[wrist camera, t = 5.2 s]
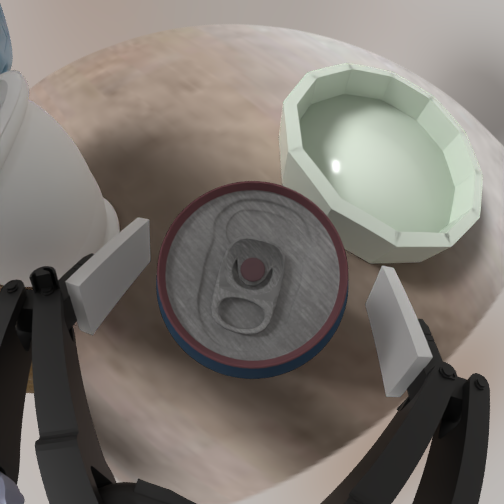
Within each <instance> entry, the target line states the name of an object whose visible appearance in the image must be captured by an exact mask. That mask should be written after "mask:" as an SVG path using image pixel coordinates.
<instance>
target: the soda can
mask: <svg viewBox="0 0 504 504" xmlns="http://www.w3.org/2000/svg"><path fill="white" fill-rule="evenodd" d="M156 290H157V299H158V304H159V308H160V312H161V315H162V317H163V320H164V322H165V324H166V327H167V328H168V330H169V332H170V334H171V335H172V337H173V338H174V339H175V341H176V342H177V343H178V345H179V346H180V347H181V348H182V349H183V350H184V351H185V352H186V353H187V354H188V355H189V356H190V357H192V358H193V359H194V360H196V361H197V362H199V363H200V364H202V365H203V366H205V367H207V368H209V369H211V370H213V371H216V372H218V373H221V374H224V375H227V376H232V377H237V378H245V379H260V378H268V377H273V376H277V375H281V374H284V373H287V372H289V371H292V370H294V369H296V368H298V367H300V366H301V365H303V364H305V363H306V362H308V361H309V360H311V359H312V358H313V357H314V356H316V355H317V354H318V353H319V352H320V351H321V350H322V349H323V348H324V347H325V345H326V344H327V343H328V342H329V340H330V339H331V338H332V336H333V335H334V333H335V332H336V330H337V328H338V326H339V324H340V322H341V319H342V317H343V314H344V311H345V307H346V303H347V297H348V263H347V257H346V253H345V249H344V246H343V243H342V241H341V238H340V236H339V234H338V232H337V230H336V228H335V227H334V225H333V223H332V222H331V221H330V219H329V218H328V217H327V216H326V214H325V213H324V212H323V211H322V210H321V209H320V208H319V207H318V206H317V205H316V204H314V203H313V202H312V201H311V200H309V199H308V198H306V197H305V196H303V195H302V194H300V193H298V192H296V191H294V190H292V189H290V188H287V187H284V186H281V185H278V184H274V183H269V182H260V181H245V182H237V183H232V184H227V185H224V186H221V187H218V188H216V189H213V190H211V191H209V192H207V193H205V194H203V195H202V196H200V197H199V198H197V199H196V200H194V201H193V202H192V203H190V204H189V205H188V206H187V207H186V208H185V209H184V210H183V211H182V212H181V213H180V214H179V215H178V216H177V217H176V219H175V220H174V221H173V223H172V224H171V226H170V228H169V230H168V231H167V233H166V236H165V238H164V240H163V243H162V246H161V249H160V253H159V258H158V265H157V279H156Z"/></svg>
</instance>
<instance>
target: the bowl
mask: <svg viewBox="0 0 504 504" xmlns="http://www.w3.org/2000/svg"><path fill="white" fill-rule="evenodd" d="M279 148H280V162H281V177H282V185H283V186H284V187H287V188H290V189H292V190H294V191H296V192H298V193H300V194H302V195H303V196H305V197H306V198H308V199H309V200H311V201H312V202H313V203H314V204H316V205H317V206H318V207H319V208H320V209H321V210H322V211H323V212H324V213H325V214H326V216H327V217H328V218H329V219H330V221H331V222H332V223H333V225H334V227H335V228H336V230H337V232H338V234H339V236H340V238H341V241H342V243H343V246H344V249H346V250H347V251H349V252H351V253H353V254H354V255H356V256H358V257H360V258H361V259H363V260H365V261H367V262H368V263H370V264H376V263H414V262H422V261H424V260H426V259H428V258H430V257H432V256H434V255H436V254H438V253H440V252H442V251H444V250H446V249H448V248H450V247H452V246H453V245H454V244H455V243H456V242H457V241H458V240H459V239H460V238H461V237H462V236H463V235H464V234H465V233H466V232H467V231H468V230H469V228H470V227H471V226H472V225H473V224H474V223H475V222H476V221H477V220H478V219H479V218H480V211H481V200H482V184H483V174H482V172H481V169H480V166H479V163H478V161H477V158H476V156H475V153H474V151H473V148H472V146H471V143H470V141H469V139H468V137H467V134H466V132H465V131H464V130H463V128H462V127H461V126H460V125H459V124H458V123H457V121H456V120H455V119H454V118H453V117H452V116H451V114H450V113H449V112H448V111H447V110H446V109H445V108H444V107H443V106H442V105H441V103H440V102H439V101H438V100H437V99H436V98H435V97H434V96H433V95H431V94H430V93H428V92H426V91H425V90H423V89H421V88H420V87H418V86H417V85H415V84H413V83H411V82H410V81H408V80H406V79H404V78H403V77H401V76H399V75H397V74H395V73H393V72H391V71H387V70H383V69H378V68H373V67H369V66H363V65H358V64H352V63H343V64H339V65H334V66H330V67H326V68H322V69H318V70H314V71H310V72H307V73H306V75H305V76H304V77H303V78H302V79H301V81H300V82H299V83H298V84H297V85H296V87H295V88H294V89H293V90H292V92H291V93H290V94H289V95H288V97H287V98H286V99H285V100H284V102H283V108H282V116H281V123H280V131H279Z"/></svg>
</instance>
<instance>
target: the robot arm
mask: <svg viewBox="0 0 504 504" xmlns="http://www.w3.org/2000/svg"><path fill="white" fill-rule="evenodd" d="M11 66H12V46H11V40H10V36H9V31H8V27H7V24H6V20H5V16H4V14H3V10H2V7H1V5H0V74H2V73H5V72H7V71H10V69H11ZM150 261H151V257H150V225H149V219H145V218H139V217H138V218H136V219H135V220H134V221H133V222H131V223H130V224H129V225H128V226H127V227H125V228H124V229H123V230H122V231H121V232H119V233H118V234H117V235H116V236H115V237H114V238H112V239H111V240H110V241H109V242H108V243H107V244H105V245H104V246H103V247H102V248H101V249H100V250H99V251H98V252H96V253H95V254H93V253H91V254H89V255H87V256H85V257H83V258H82V259H81V260H79V261H78V262H77V264H75V265H74V266H73V267H72V269H70V270H68V271H67V272H66V273H65V274H64V275H63V276H62V277H61V278H60V279H59V280H58V278H57V274H56V270H55V269H54V268H53V267H50V266H43V267H40V268H37V269H36V270H34V271H33V272H32V273H31V274H30V277H29V278H30V281H31V284H32V287H33V290H28V289H25V286H24V283H23V282H22V281H21V280H17V279H16V280H11V281H9V282H8V283H6V284H5V285H4V286H3V288H2V289H1V291H0V504H24V497H23V495H22V494H21V493H20V491H19V489H18V486H17V481H18V474H19V463H20V442H21V428H22V418H23V409H24V402H25V395H26V389H27V383H28V378H29V373H30V368H31V363H32V371H33V387H34V398H35V407H36V415H37V421H38V428H39V435H40V438H39V440H37V441H36V442H35V450H36V455H37V461H38V465H39V469H40V473H41V477H42V481H43V484H44V488H45V491H46V494H47V497H48V500H49V504H196V503H194V502H192V501H190V500H188V499H186V498H184V497H182V496H180V495H178V494H177V493H175V492H173V491H171V490H169V489H166V488H163V487H160V486H157V485H154V484H151V483H148V482H145V481H143V480H140V479H138V481H137V483H130V482H122V483H116V481H115V478H114V476H113V474H112V472H111V470H110V468H109V467H108V465H107V463H106V461H105V459H104V456H103V454H102V451H101V448H100V445H99V442H98V439H97V435H96V432H95V429H94V426H93V422H92V418H91V415H90V411H89V407H88V403H87V399H86V395H85V391H84V386H83V381H82V376H81V371H80V366H79V360H78V354H77V348H76V341H75V333H74V329H73V325H74V324H75V322H76V321H77V323H78V326H79V329H80V330H81V331H83V332H86V333H88V334H91V335H93V334H94V333H95V331H96V330H97V329H98V327H99V326H100V325H101V323H102V322H103V321H104V319H105V318H106V317H107V315H108V314H109V313H110V311H111V310H112V309H113V307H114V306H115V305H116V303H117V302H118V301H119V300H120V298H121V297H122V296H123V295H124V293H125V292H126V291H127V289H128V288H129V287H130V286H131V284H132V283H133V282H134V281H135V279H136V278H137V277H138V276H139V275H140V273H141V272H142V271H143V270H144V268H145V267H146V266H147V265H148V264H149V262H150ZM365 306H366V309H367V313H368V317H369V321H370V325H371V329H372V333H373V337H374V341H375V345H376V350H377V354H378V359H379V363H380V368H381V373H382V378H383V383H384V388H385V394H386V397H401V396H402V395H403V393H404V392H405V391H406V390H407V391H408V395H409V396H408V398H407V399H406V400H405V401H404V402H403V403H402V404H401V405H400V406H399V407H398V408H397V410H398V412H397V413H396V415H395V416H394V418H393V419H392V421H391V422H390V423H389V425H388V426H387V428H386V429H385V430H384V432H383V433H382V434H381V436H380V437H379V438H378V440H377V441H376V443H375V444H374V445H373V446H372V448H371V449H370V450H369V451H368V453H367V454H366V455H365V456H364V458H363V459H362V460H361V461H360V462H359V464H358V465H357V466H356V467H355V468H354V469H353V470H352V472H351V473H350V474H349V475H348V476H347V477H346V478H345V479H344V480H343V482H342V483H341V484H340V485H339V486H338V487H337V488H336V489H335V490H334V491H333V492H332V493H331V494H330V495H329V496H328V497H327V498H326V499H325V500H324V501H323V502H322V503H321V504H391V503H392V502H393V501H394V499H395V498H396V496H397V495H398V494H399V492H400V491H401V489H402V488H403V486H404V485H405V483H406V482H407V480H408V479H409V477H410V475H411V474H412V472H413V471H414V469H415V467H416V465H417V464H418V462H419V460H420V459H421V457H422V455H423V453H424V452H425V450H426V448H427V446H428V444H429V442H430V440H431V438H432V437H433V438H432V442H431V446H430V451H429V454H428V458H427V462H426V465H425V468H424V472H423V475H422V478H421V481H420V484H419V487H418V490H417V493H416V495H415V498H414V501H413V503H412V504H478V502H479V498H480V493H481V488H482V483H483V477H484V472H485V464H486V457H487V448H488V436H489V418H490V417H489V416H490V389H489V384H488V382H487V380H486V379H485V377H483V376H482V375H480V374H477V373H475V374H472V375H471V377H470V378H469V379H468V380H466V379H463V378H460V377H457V374H456V371H455V370H454V368H453V367H452V366H451V365H449V364H448V363H446V362H443V361H442V359H441V356H440V353H439V351H438V348H437V346H436V344H435V342H434V339H433V336H431V332H430V329H429V327H428V326H427V325H426V323H425V322H424V321H423V320H422V319H417V317H416V314H415V312H414V310H413V307H412V305H411V303H410V301H409V299H408V296H407V294H406V292H405V290H404V288H403V286H402V284H401V282H400V280H399V278H398V276H397V274H396V272H395V270H394V268H392V267H387V266H382V267H381V269H380V271H379V274H378V276H377V279H376V281H375V283H374V286H373V288H372V290H371V292H370V295H369V297H368V299H367V301H366V303H365Z"/></svg>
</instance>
